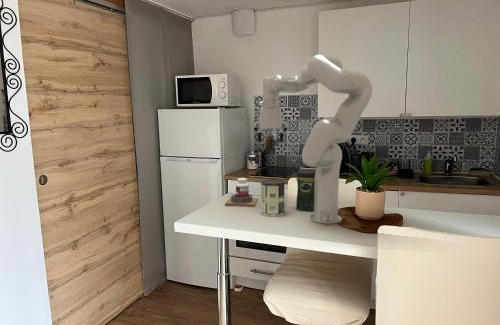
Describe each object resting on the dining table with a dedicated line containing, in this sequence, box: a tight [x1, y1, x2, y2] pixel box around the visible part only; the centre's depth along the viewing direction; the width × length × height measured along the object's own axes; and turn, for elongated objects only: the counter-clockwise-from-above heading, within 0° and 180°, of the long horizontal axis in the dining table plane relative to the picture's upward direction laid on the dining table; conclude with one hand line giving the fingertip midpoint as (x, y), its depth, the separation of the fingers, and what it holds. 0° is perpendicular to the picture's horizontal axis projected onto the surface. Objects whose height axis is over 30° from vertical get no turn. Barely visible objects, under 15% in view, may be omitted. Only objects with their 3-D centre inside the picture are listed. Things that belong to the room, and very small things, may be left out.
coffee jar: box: [295, 168, 316, 212], centre depth 166 cm, size 10×8×19 cm
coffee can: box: [260, 179, 286, 217], centre depth 159 cm, size 10×10×14 cm
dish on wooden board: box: [224, 193, 258, 208], centre depth 179 cm, size 14×14×4 cm
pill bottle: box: [235, 177, 250, 198], centre depth 178 cm, size 6×6×11 cm
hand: (270, 141), depth 170 cm, fingers open, 9 cm apart
